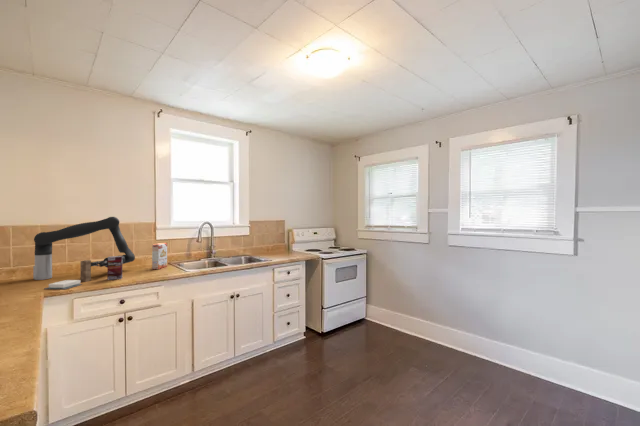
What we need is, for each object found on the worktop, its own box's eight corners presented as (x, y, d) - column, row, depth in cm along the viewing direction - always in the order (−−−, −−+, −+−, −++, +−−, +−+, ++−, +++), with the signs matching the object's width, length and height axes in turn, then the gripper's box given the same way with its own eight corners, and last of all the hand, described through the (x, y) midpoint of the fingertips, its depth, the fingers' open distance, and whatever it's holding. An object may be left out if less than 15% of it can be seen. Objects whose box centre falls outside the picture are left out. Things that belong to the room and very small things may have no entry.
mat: (44, 289, 186) (44, 288, 186) (62, 284, 198) (62, 283, 198) (65, 289, 185) (65, 288, 185) (82, 284, 197) (82, 284, 197)
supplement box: (107, 280, 211) (107, 257, 211) (108, 278, 215) (108, 256, 215) (121, 278, 215) (121, 256, 215) (122, 277, 219) (122, 255, 219)
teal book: (66, 283, 199) (48, 288, 187) (66, 279, 199) (48, 284, 187) (80, 283, 198) (63, 288, 186) (80, 280, 198) (63, 284, 186)
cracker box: (158, 269, 250) (158, 244, 250) (151, 269, 250) (151, 244, 250) (167, 266, 264) (167, 242, 264) (160, 266, 264) (160, 242, 264)
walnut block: (80, 281, 206) (80, 261, 206) (85, 280, 210) (85, 260, 210) (86, 281, 206) (86, 261, 206) (90, 280, 210) (90, 260, 210)
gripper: (103, 256, 232) (85, 260, 216) (120, 256, 231) (103, 260, 214) (103, 266, 232) (85, 270, 216) (120, 266, 231) (103, 270, 214)
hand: (94, 265), depth 215 cm, fingers open, 8 cm apart
